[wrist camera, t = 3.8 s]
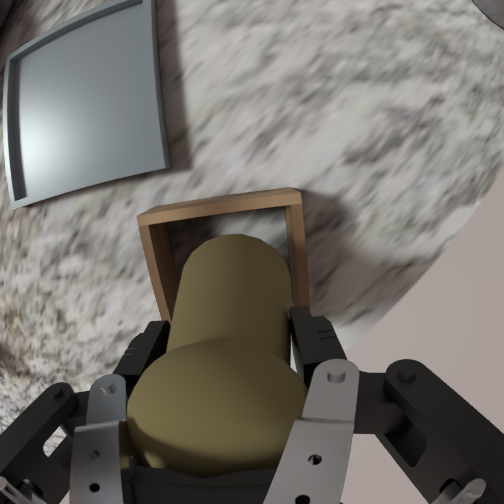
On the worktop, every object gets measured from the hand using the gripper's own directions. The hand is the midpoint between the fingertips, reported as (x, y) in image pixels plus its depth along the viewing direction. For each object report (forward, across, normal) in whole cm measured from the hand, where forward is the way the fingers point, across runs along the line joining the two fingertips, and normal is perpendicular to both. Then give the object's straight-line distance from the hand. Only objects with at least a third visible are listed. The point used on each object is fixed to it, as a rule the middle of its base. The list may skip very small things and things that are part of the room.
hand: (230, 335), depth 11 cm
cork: (+5, 0, 0) cm, 5 cm away
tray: (+9, +10, -14) cm, 20 cm away
